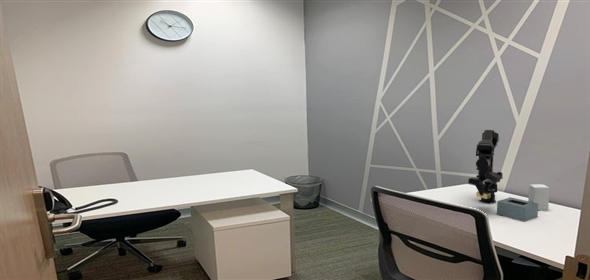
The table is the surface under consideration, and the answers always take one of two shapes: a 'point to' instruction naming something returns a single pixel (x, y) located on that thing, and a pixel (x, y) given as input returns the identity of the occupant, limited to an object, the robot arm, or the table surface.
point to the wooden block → (484, 195)
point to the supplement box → (539, 195)
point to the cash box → (517, 209)
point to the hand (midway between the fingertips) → (483, 195)
